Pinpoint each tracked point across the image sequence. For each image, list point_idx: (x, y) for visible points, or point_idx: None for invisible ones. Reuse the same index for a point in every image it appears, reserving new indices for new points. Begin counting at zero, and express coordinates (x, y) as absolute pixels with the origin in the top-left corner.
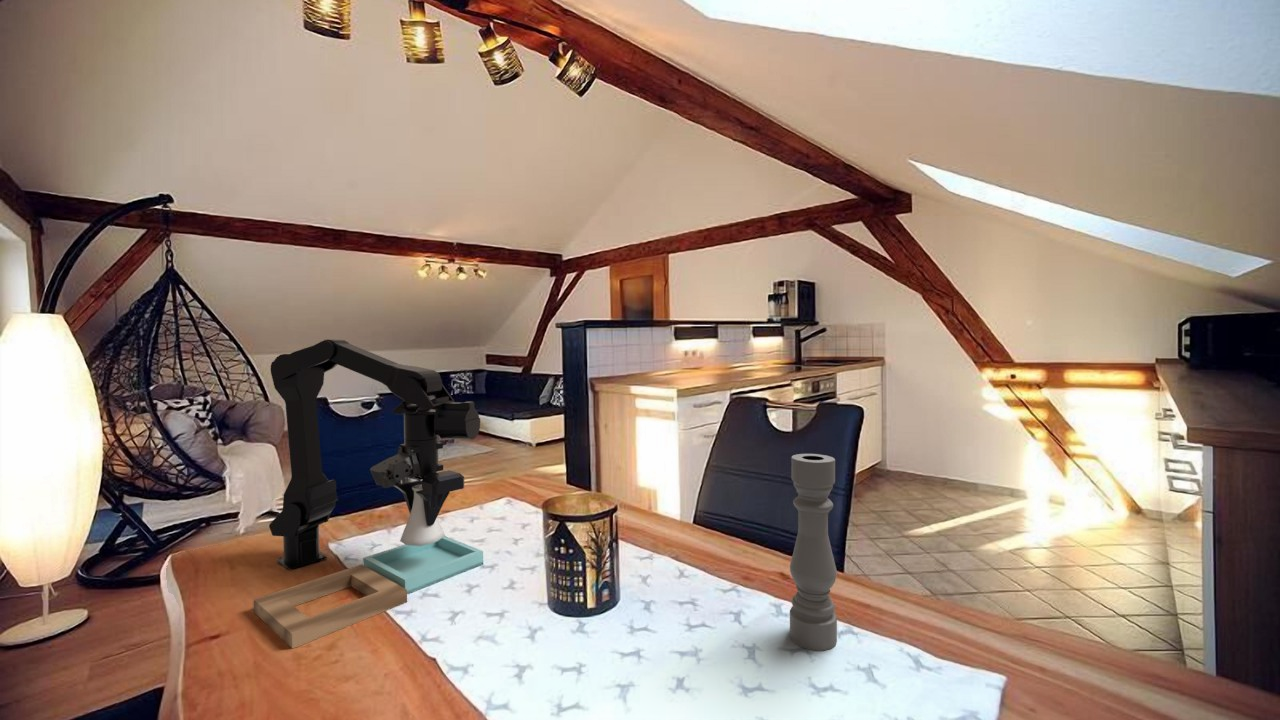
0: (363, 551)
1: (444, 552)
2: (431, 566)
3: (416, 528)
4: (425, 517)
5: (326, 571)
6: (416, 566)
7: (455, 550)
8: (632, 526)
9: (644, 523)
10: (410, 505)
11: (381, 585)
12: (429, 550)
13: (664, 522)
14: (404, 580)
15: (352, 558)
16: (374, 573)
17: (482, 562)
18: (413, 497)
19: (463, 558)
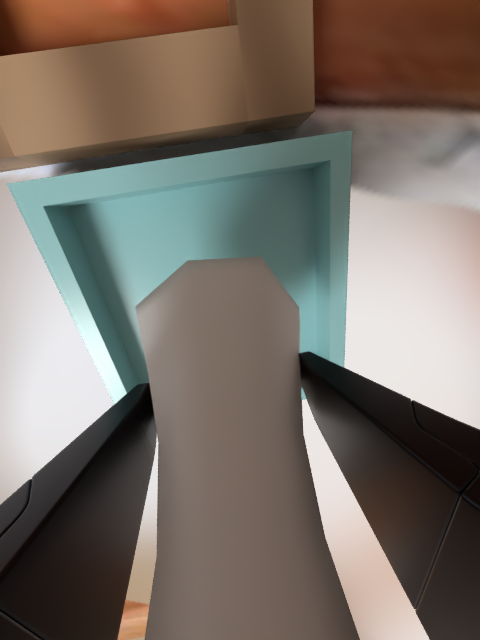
0: (474, 202)
1: None
2: None
3: (166, 330)
4: (125, 412)
5: (437, 24)
6: None
7: None
8: (146, 607)
9: (146, 618)
10: (346, 405)
11: (34, 95)
12: (305, 342)
13: (130, 632)
14: (12, 183)
15: (457, 152)
16: (185, 121)
17: None
18: (391, 486)
19: (107, 386)
